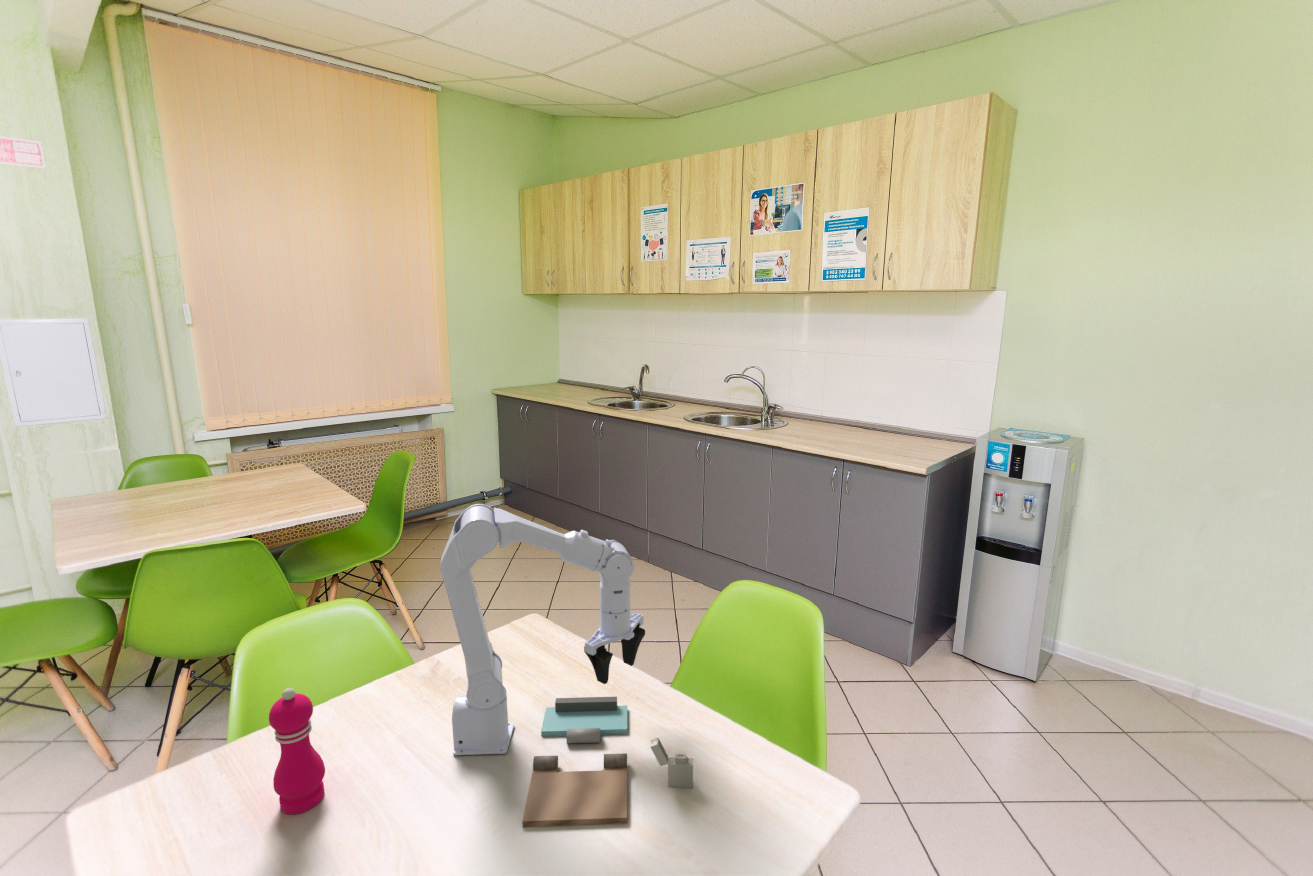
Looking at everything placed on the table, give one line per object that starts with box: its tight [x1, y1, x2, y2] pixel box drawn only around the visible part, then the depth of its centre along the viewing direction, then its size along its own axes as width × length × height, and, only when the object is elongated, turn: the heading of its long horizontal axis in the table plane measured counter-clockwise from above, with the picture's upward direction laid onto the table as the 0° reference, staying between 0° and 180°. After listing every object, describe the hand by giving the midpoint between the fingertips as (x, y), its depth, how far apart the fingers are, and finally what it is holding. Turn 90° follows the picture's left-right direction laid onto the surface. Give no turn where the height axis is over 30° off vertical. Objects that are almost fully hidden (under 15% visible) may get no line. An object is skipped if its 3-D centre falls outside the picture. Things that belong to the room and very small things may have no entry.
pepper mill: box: [268, 687, 326, 815], centre depth 99 cm, size 7×7×20 cm
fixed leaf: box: [521, 752, 628, 828], centre depth 102 cm, size 16×13×2 cm
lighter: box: [650, 737, 694, 789], centre depth 103 cm, size 7×2×8 cm, turn 86°
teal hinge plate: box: [540, 696, 628, 744], centre depth 118 cm, size 16×10×3 cm, turn 93°
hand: (615, 672), depth 119 cm, fingers open, 7 cm apart
